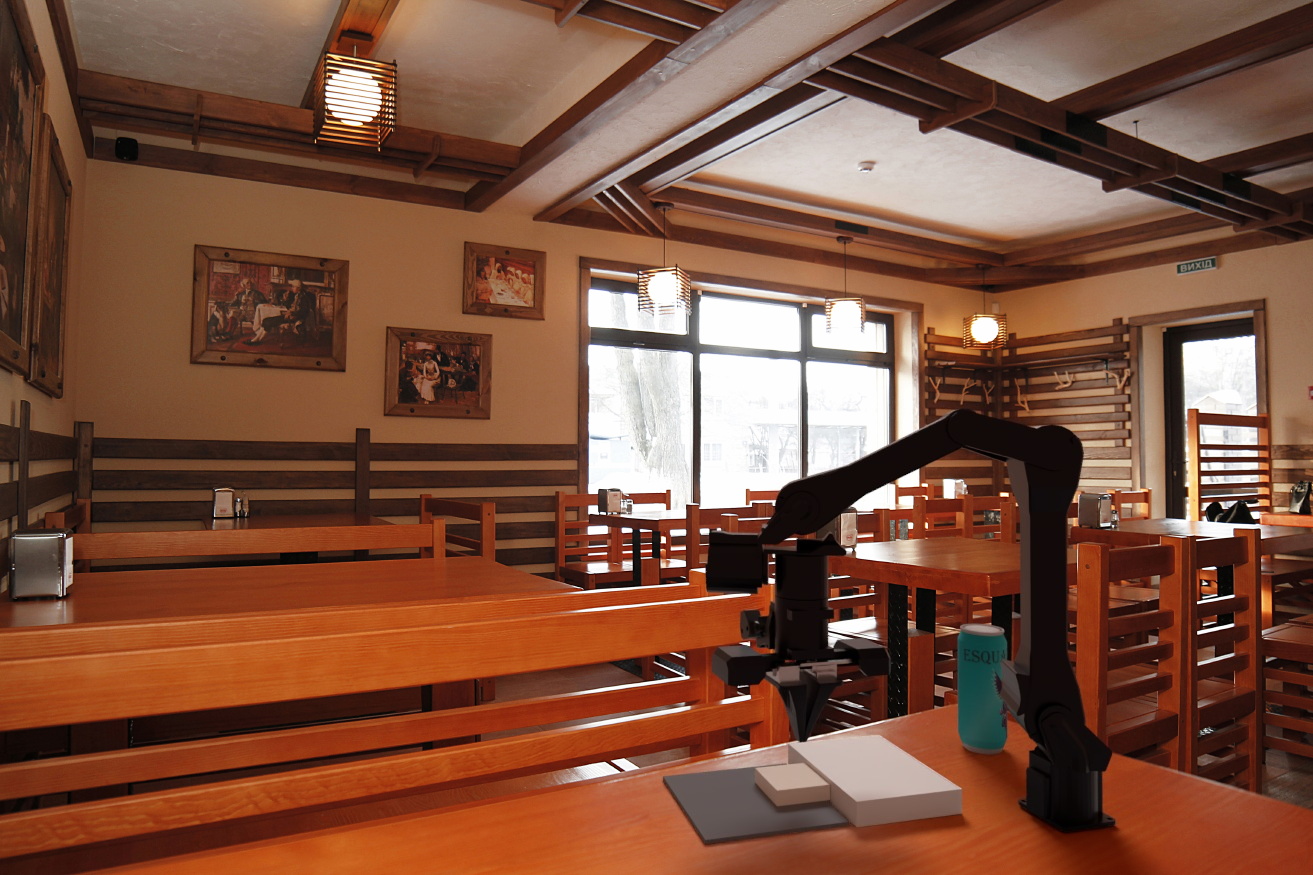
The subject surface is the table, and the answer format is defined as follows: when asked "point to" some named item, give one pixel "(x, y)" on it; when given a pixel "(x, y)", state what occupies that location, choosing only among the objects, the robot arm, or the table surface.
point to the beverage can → (981, 688)
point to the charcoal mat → (743, 807)
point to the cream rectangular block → (792, 784)
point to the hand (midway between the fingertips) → (801, 740)
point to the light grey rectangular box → (877, 780)
